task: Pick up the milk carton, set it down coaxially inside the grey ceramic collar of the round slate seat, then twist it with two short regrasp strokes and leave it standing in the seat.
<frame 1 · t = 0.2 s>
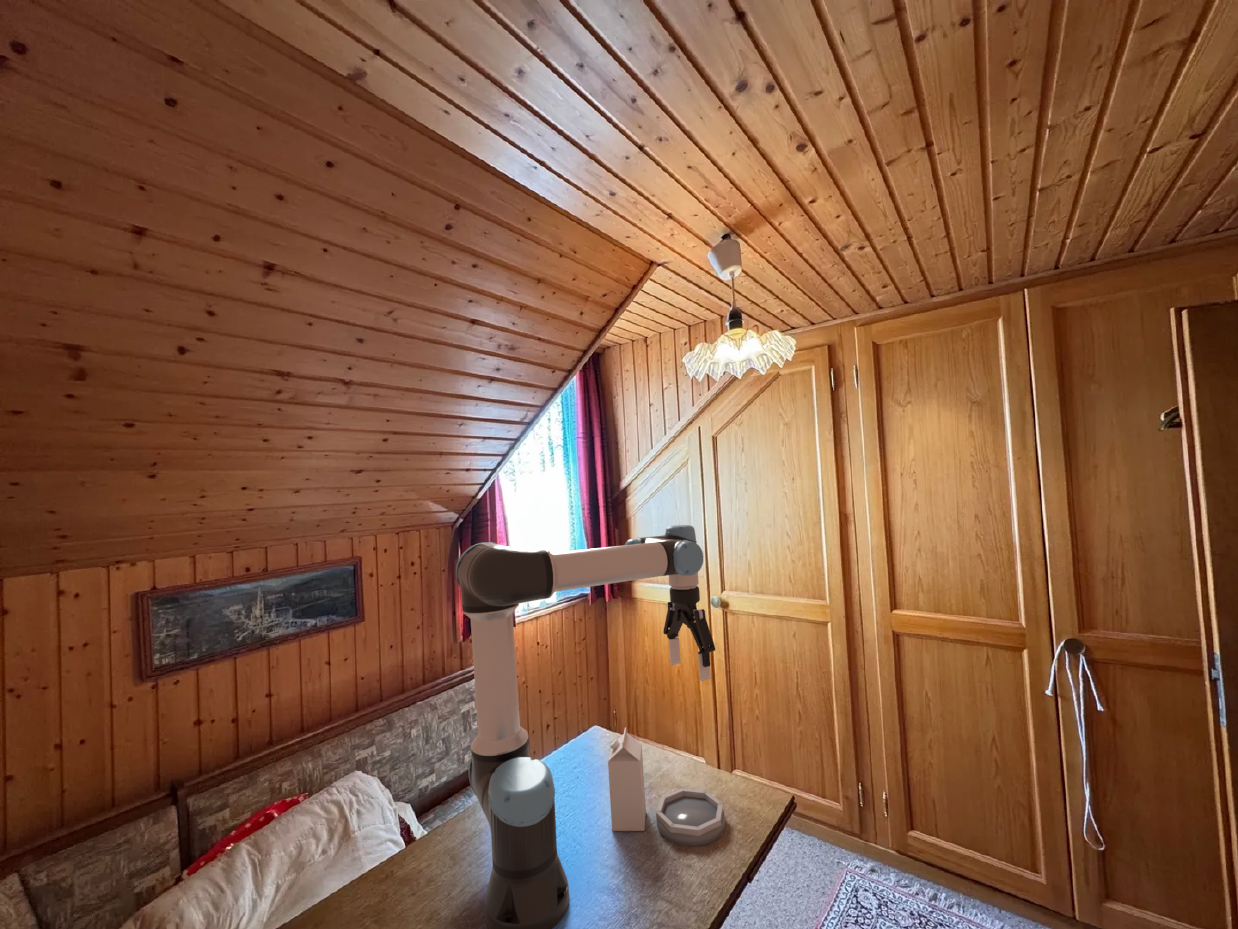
hand: (689, 671, 129), 27 cm above the table, fingers open, 13 cm apart
milk carton: (629, 822, 114), on the table
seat: (690, 822, 113), on the table
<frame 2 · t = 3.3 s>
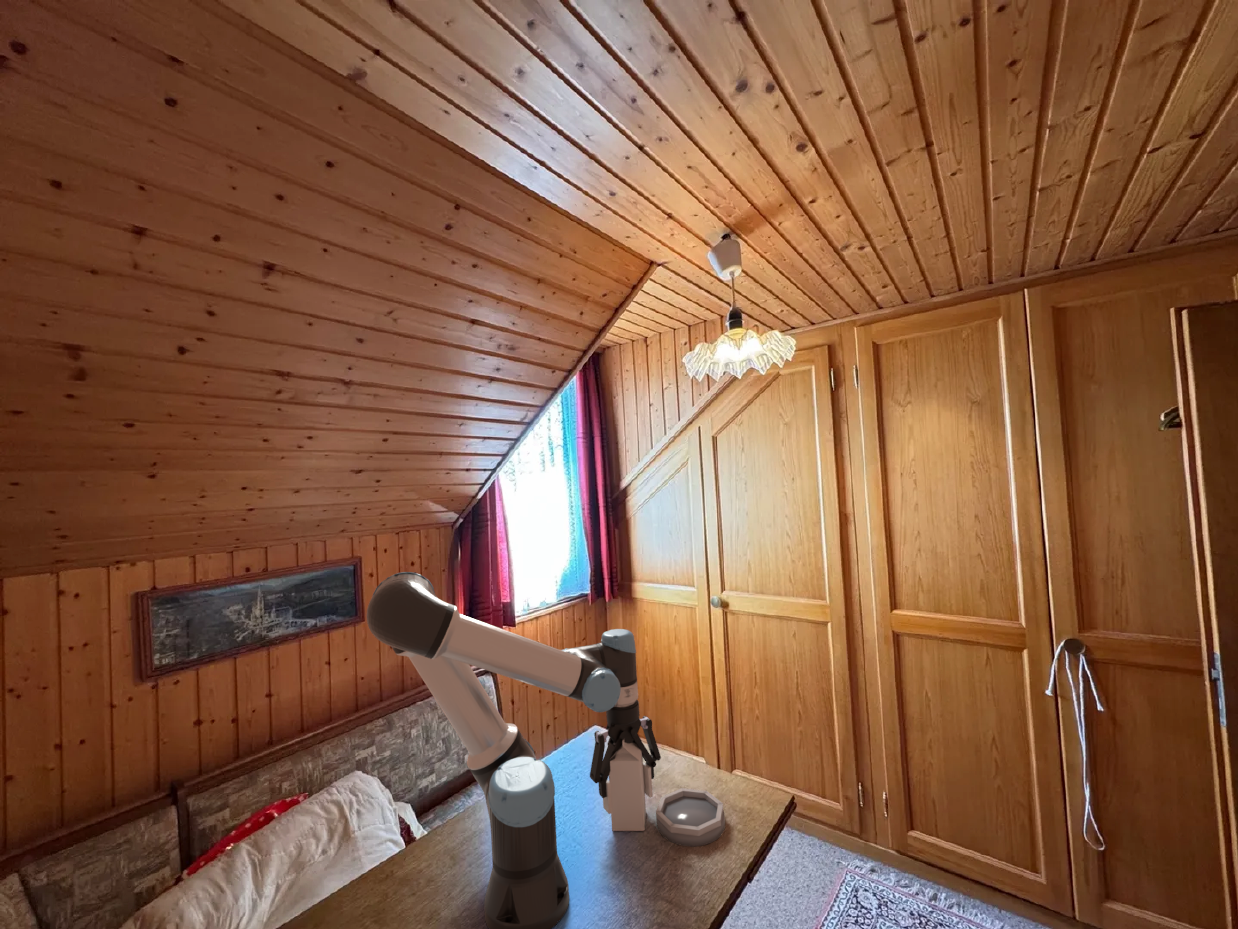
hand: (628, 802, 115), 4 cm above the table, fingers closed on milk carton, 10 cm apart
milk carton: (629, 822, 114), on the table, touching gripper
when the fingers open (7 cm above the table, at t = 8.5 s): milk carton stays where it is, resting on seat.
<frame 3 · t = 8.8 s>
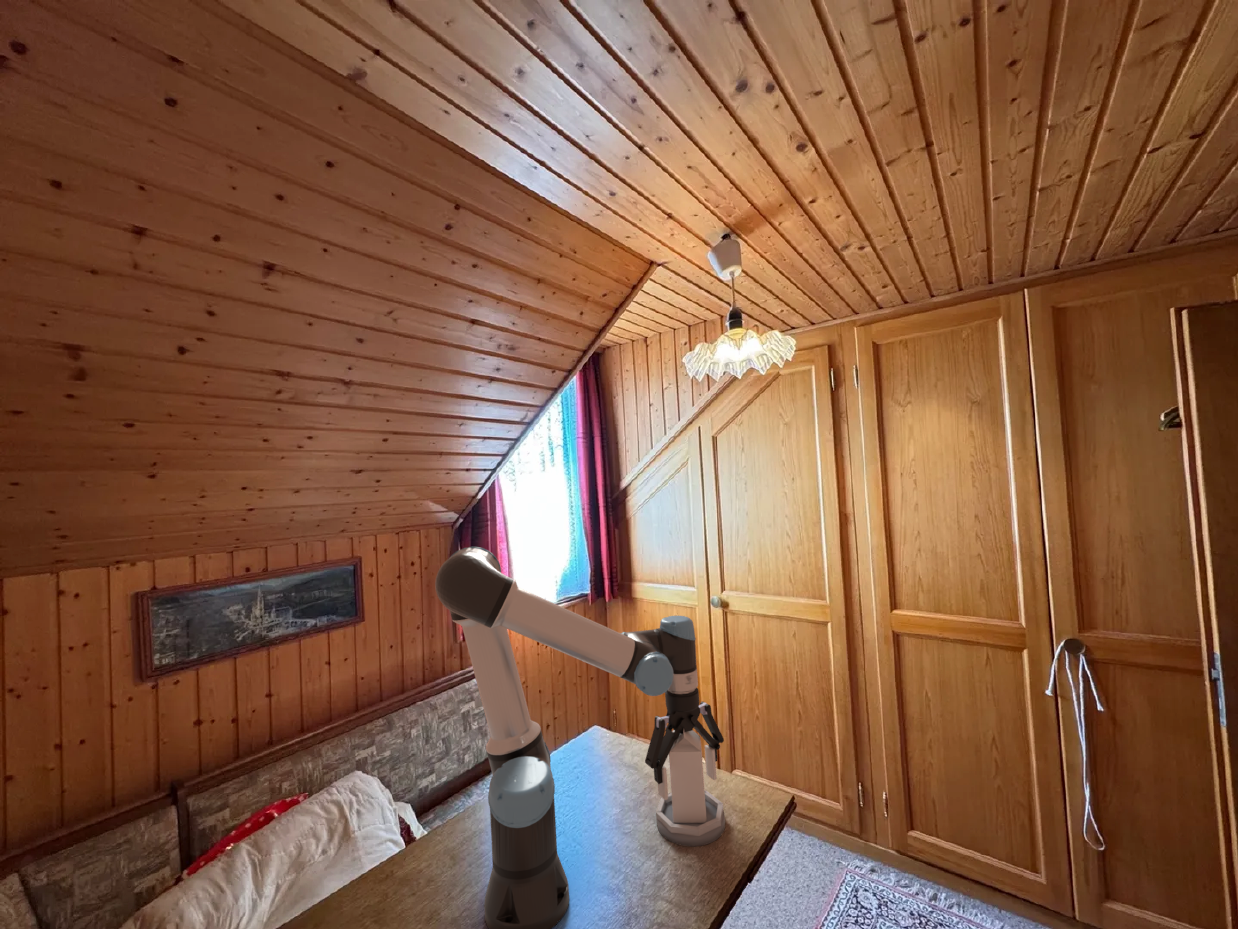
hand: (688, 786, 113), 8 cm above the table, fingers open, 12 cm apart
milk carton: (689, 814, 113), point 2 cm above the table, touching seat
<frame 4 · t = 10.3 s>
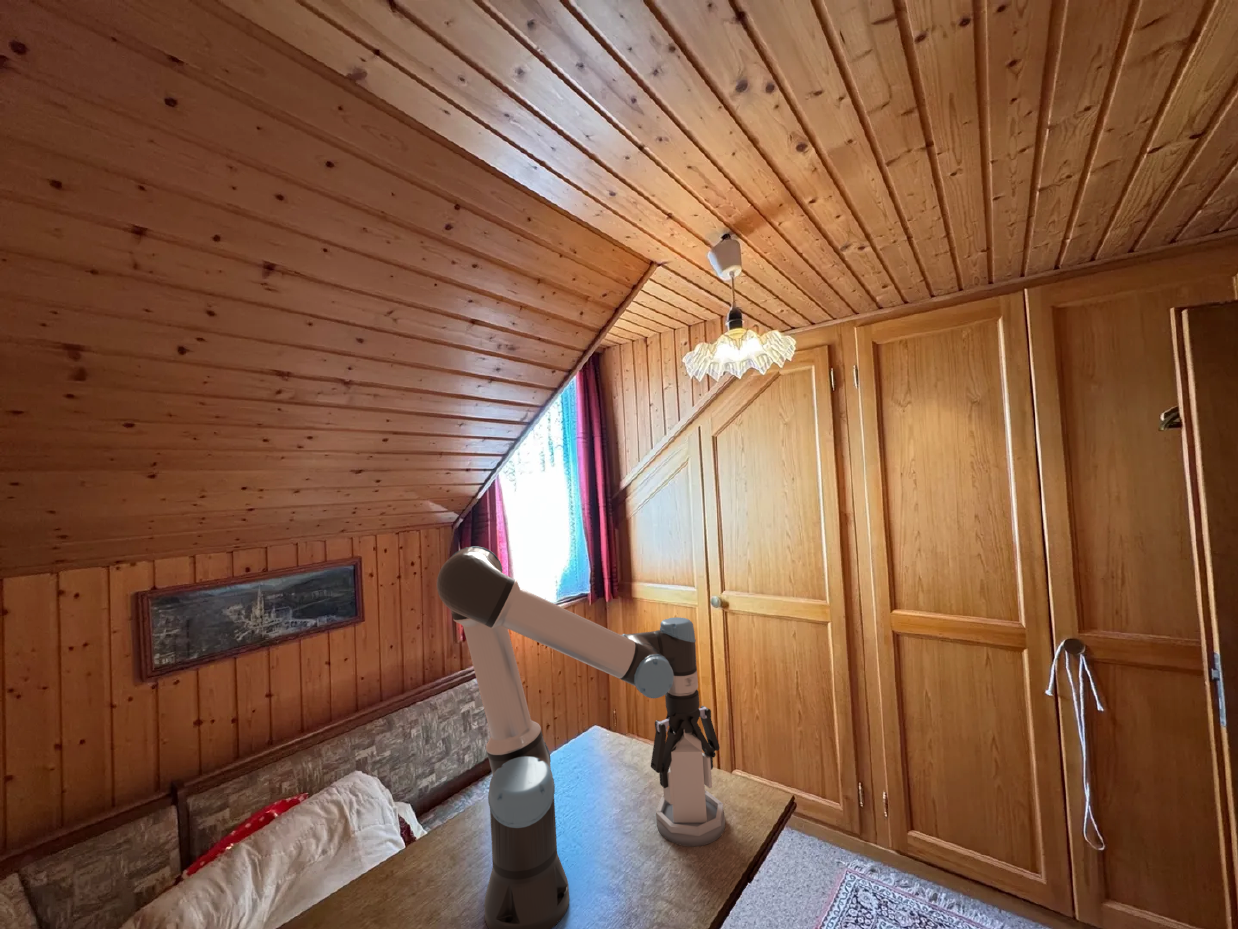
hand: (688, 792, 113), 6 cm above the table, fingers closed on milk carton, 10 cm apart
milk carton: (689, 814, 113), point 2 cm above the table, touching gripper, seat
when the fingers open (8 cm above the table, at t = 11.5 s): milk carton stays where it is, point 3 cm above the table.
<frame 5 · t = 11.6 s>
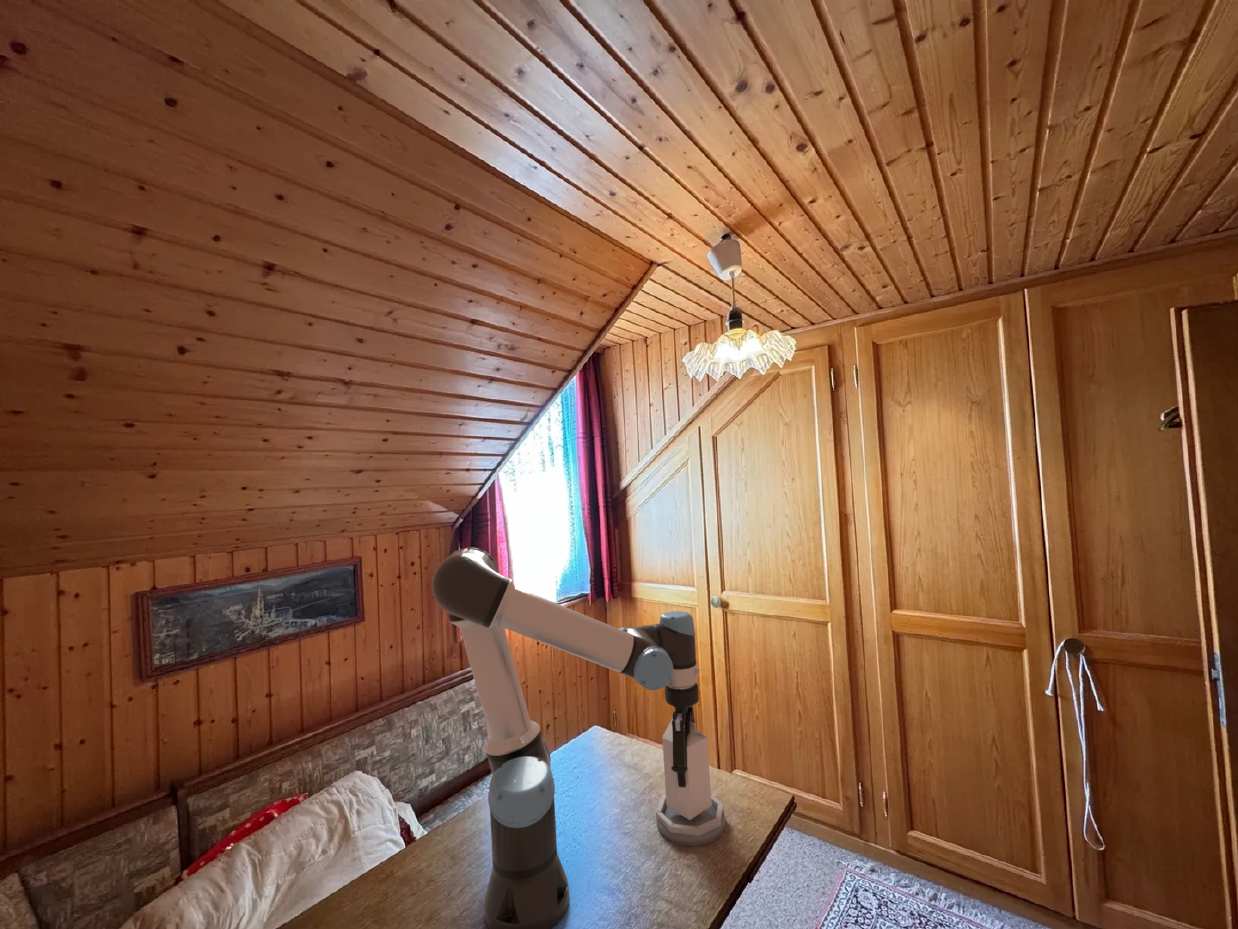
hand: (687, 786, 113), 8 cm above the table, fingers open, 10 cm apart
milk carton: (689, 807, 113), point 3 cm above the table
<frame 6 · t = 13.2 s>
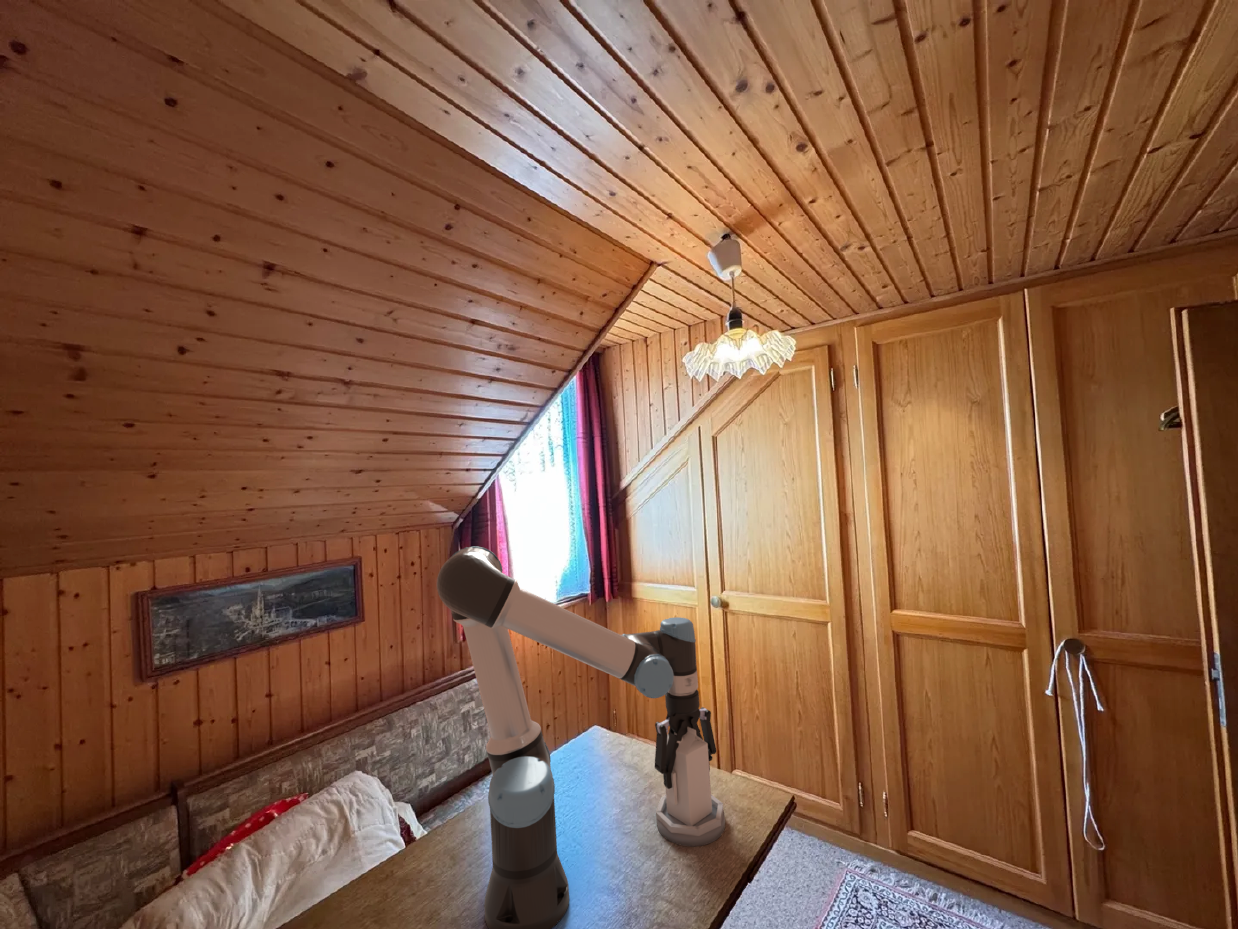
hand: (688, 794, 113), 6 cm above the table, fingers closed on milk carton, 8 cm apart
milk carton: (689, 814, 113), point 2 cm above the table, touching gripper, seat
when the fingers open (7 cm above the table, at t = 14.4 s): milk carton drops 1 cm, resting on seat.
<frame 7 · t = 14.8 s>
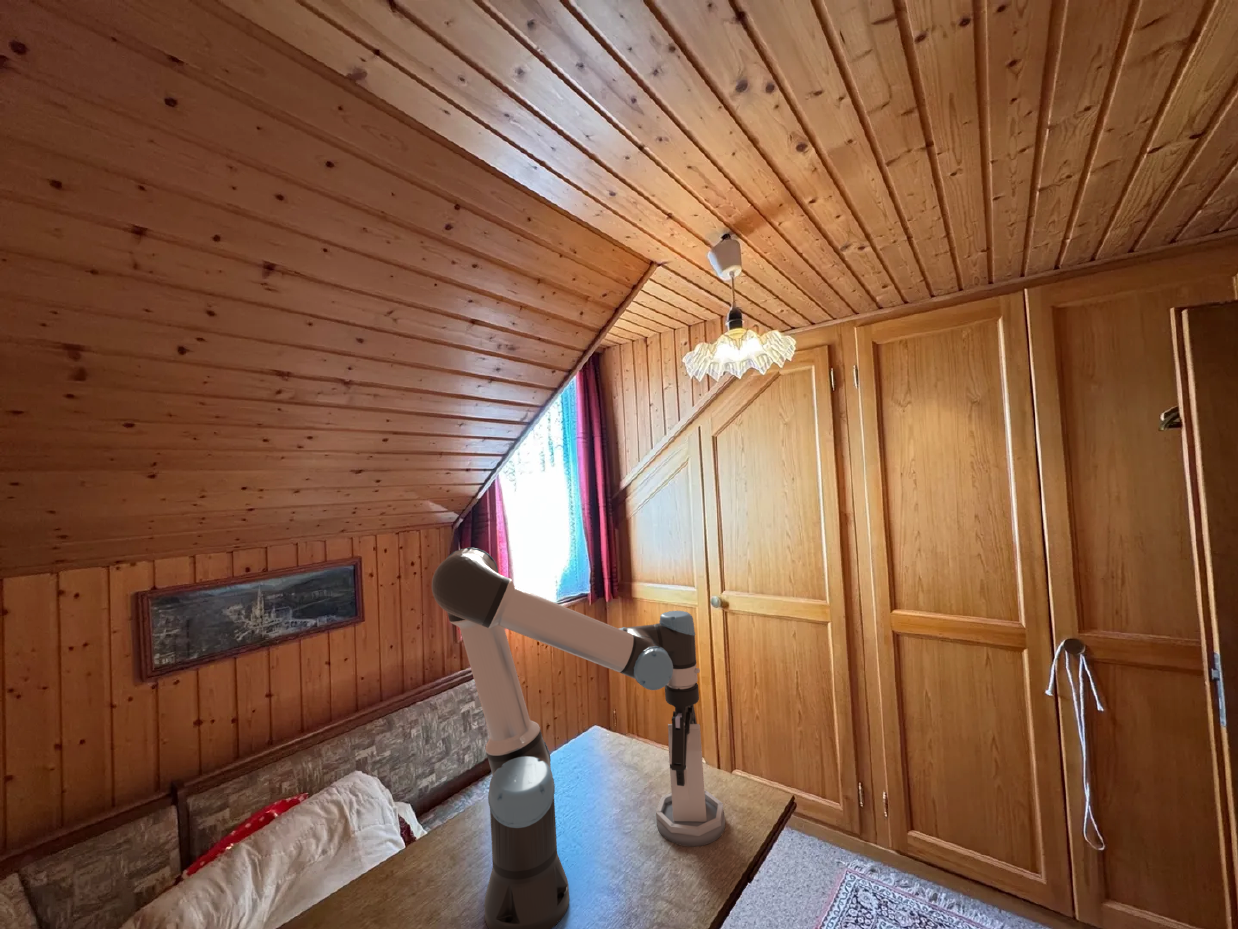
hand: (687, 780, 113), 9 cm above the table, fingers open, 13 cm apart
milk carton: (689, 813, 113), point 2 cm above the table, touching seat
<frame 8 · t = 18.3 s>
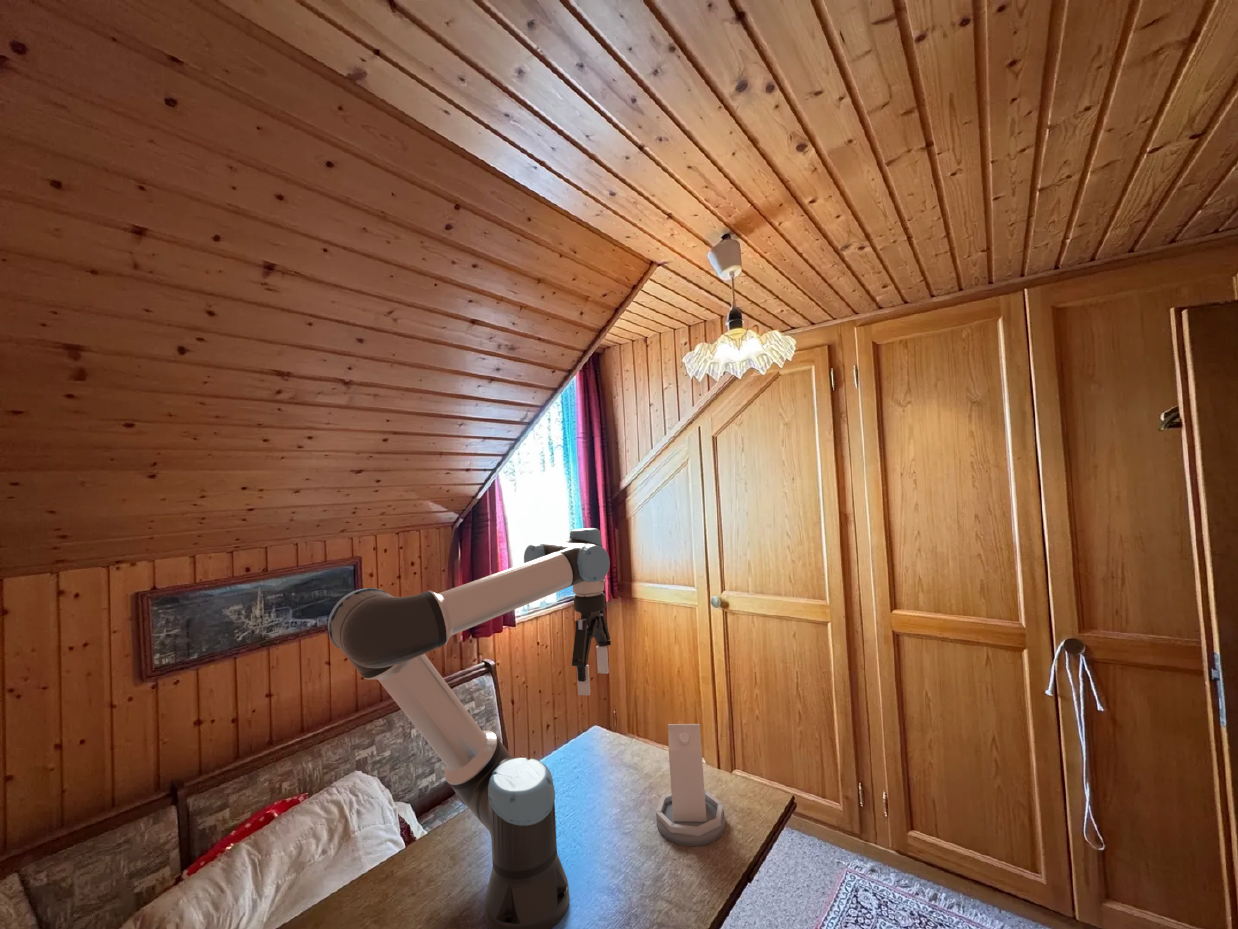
hand: (594, 683, 122), 29 cm above the table, fingers open, 13 cm apart
nothing on the table moved.
at the end: milk carton 0.5 cm from the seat (horizontally); milk carton tilted 0°; the gripper is holding nothing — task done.
